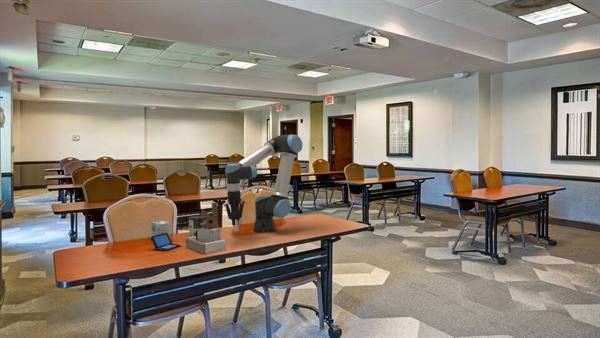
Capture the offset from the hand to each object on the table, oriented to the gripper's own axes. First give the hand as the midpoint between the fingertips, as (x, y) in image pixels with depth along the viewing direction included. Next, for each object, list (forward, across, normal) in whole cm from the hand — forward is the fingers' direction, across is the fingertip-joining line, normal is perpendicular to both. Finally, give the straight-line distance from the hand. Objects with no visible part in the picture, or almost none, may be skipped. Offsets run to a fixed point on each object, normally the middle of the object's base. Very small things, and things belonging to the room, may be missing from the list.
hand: (235, 230), depth 225 cm
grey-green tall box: (+7, -14, +21) cm, 26 cm away
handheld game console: (+6, -36, +15) cm, 39 cm away
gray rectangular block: (+7, -17, +1) cm, 18 cm away
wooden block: (+7, +6, +44) cm, 45 cm away
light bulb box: (+6, -30, +38) cm, 49 cm away
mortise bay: (+6, -19, 0) cm, 20 cm away
